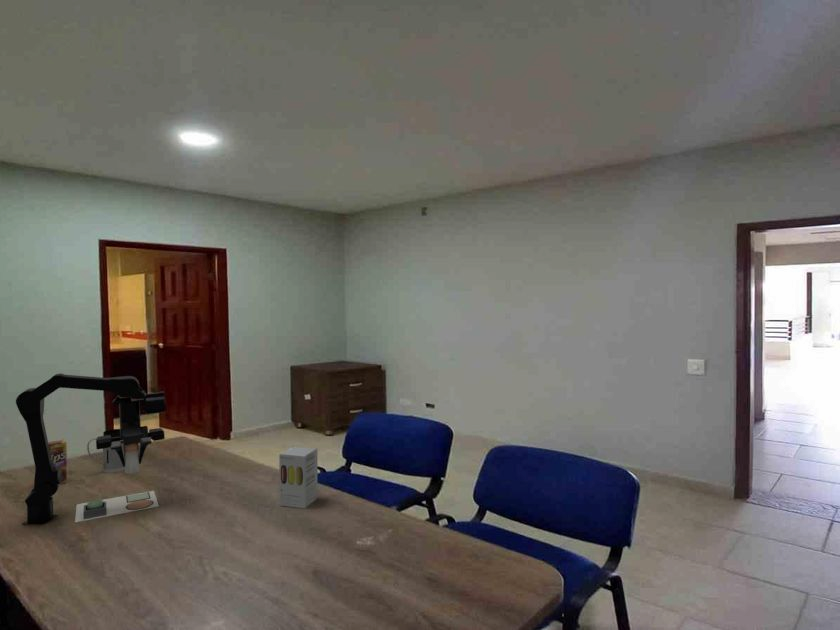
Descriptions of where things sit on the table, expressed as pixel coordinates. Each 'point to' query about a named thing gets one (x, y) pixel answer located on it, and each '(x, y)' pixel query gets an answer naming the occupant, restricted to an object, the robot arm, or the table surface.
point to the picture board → (122, 505)
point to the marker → (131, 458)
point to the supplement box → (298, 477)
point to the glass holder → (110, 455)
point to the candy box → (59, 456)
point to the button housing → (94, 511)
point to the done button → (94, 504)
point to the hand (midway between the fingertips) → (131, 464)
